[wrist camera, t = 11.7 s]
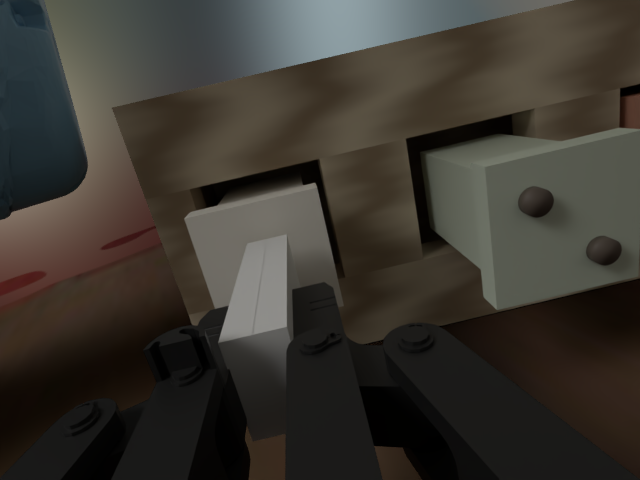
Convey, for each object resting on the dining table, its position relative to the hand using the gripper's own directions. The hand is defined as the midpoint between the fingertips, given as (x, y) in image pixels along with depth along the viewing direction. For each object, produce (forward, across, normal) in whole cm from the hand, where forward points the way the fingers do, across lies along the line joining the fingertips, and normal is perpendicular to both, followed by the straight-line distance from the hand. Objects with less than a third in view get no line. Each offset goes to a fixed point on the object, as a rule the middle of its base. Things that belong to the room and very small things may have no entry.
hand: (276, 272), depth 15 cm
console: (+10, +10, -7) cm, 15 cm away
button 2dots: (+2, +10, -2) cm, 10 cm away
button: (+4, 0, -2) cm, 5 cm away
